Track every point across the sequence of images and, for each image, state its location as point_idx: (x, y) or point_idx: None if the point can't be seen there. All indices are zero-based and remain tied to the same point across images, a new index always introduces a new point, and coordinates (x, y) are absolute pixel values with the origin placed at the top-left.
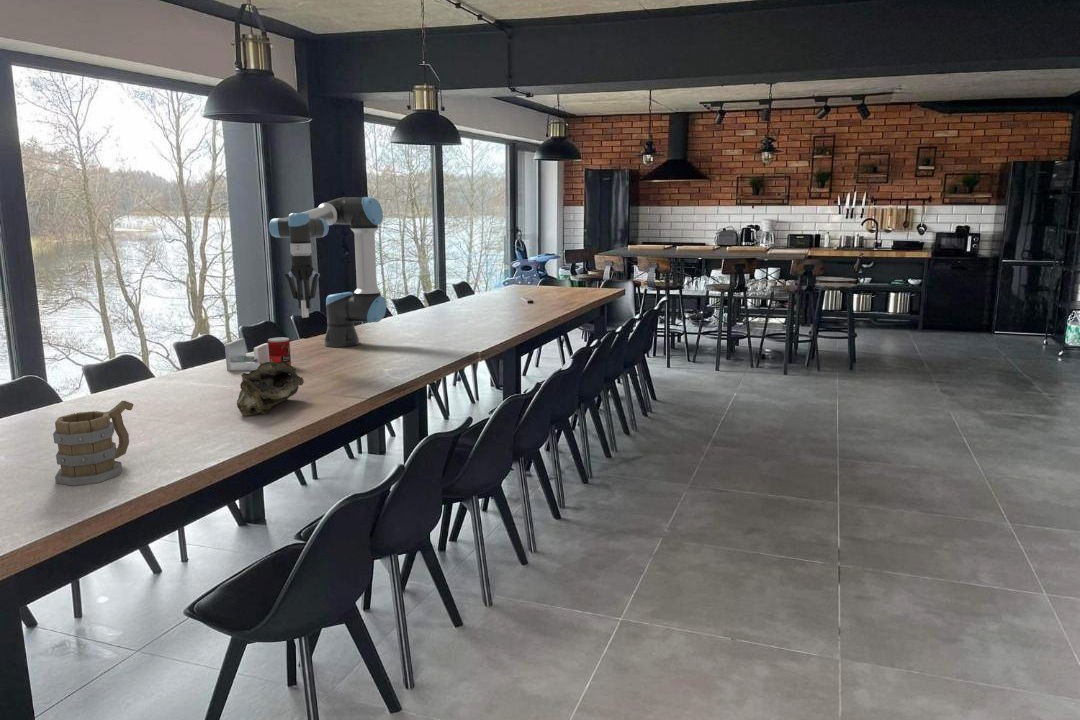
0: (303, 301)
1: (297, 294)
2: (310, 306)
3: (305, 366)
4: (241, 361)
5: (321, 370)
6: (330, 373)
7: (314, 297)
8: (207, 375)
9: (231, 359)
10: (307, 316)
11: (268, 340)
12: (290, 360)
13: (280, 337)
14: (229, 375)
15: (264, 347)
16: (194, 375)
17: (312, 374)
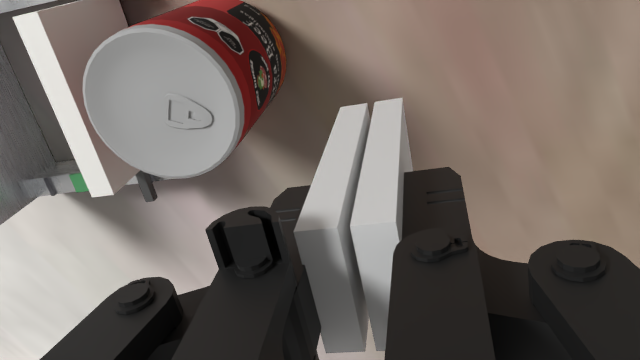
0: (380, 338)
1: (147, 352)
2: (461, 182)
3: (368, 12)
4: (73, 176)
5: (523, 104)
6: (610, 169)
7: (601, 246)
8: (57, 274)
9: (22, 188)
10: (409, 148)
11: (121, 156)
12: (276, 47)
13: (122, 37)
14: (139, 265)
15: (79, 84)
16: (12, 279)
17: (512, 204)
